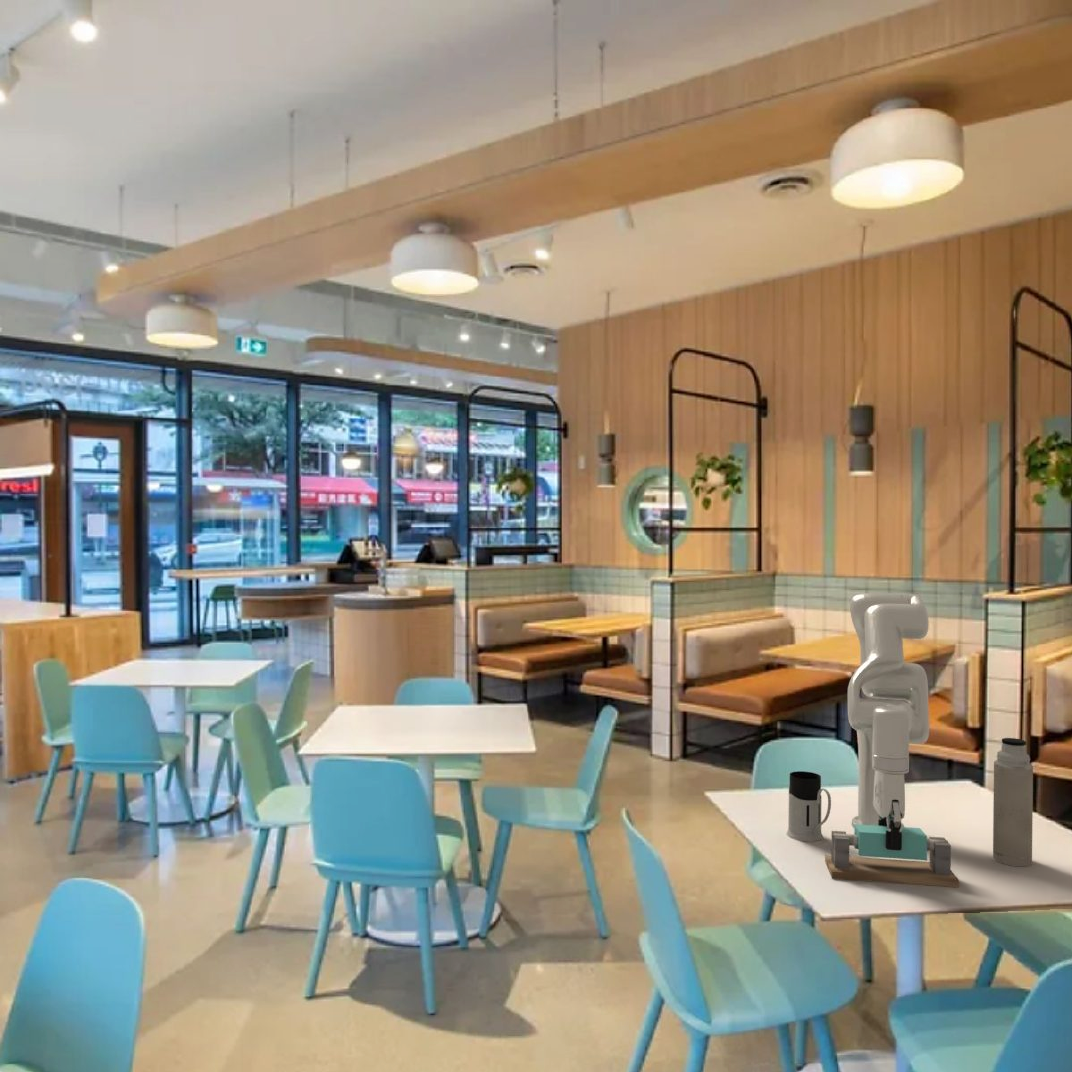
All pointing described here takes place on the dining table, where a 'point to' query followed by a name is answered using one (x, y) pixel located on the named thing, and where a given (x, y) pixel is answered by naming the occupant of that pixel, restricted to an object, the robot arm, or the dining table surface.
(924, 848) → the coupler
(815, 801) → the glass holder
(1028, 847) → the thermos bottle
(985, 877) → the dining table surface
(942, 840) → the shaft stand
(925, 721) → the robot arm
